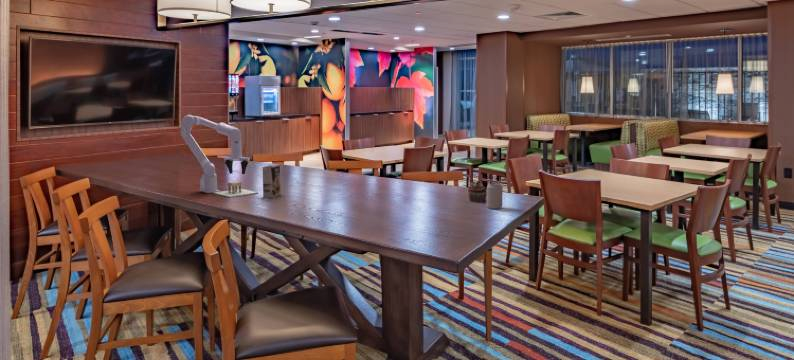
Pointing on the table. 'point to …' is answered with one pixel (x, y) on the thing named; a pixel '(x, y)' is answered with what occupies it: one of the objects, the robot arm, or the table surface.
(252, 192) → the mat
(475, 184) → the cupcake
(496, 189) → the can
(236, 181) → the stool
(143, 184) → the table surface
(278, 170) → the coffee box
